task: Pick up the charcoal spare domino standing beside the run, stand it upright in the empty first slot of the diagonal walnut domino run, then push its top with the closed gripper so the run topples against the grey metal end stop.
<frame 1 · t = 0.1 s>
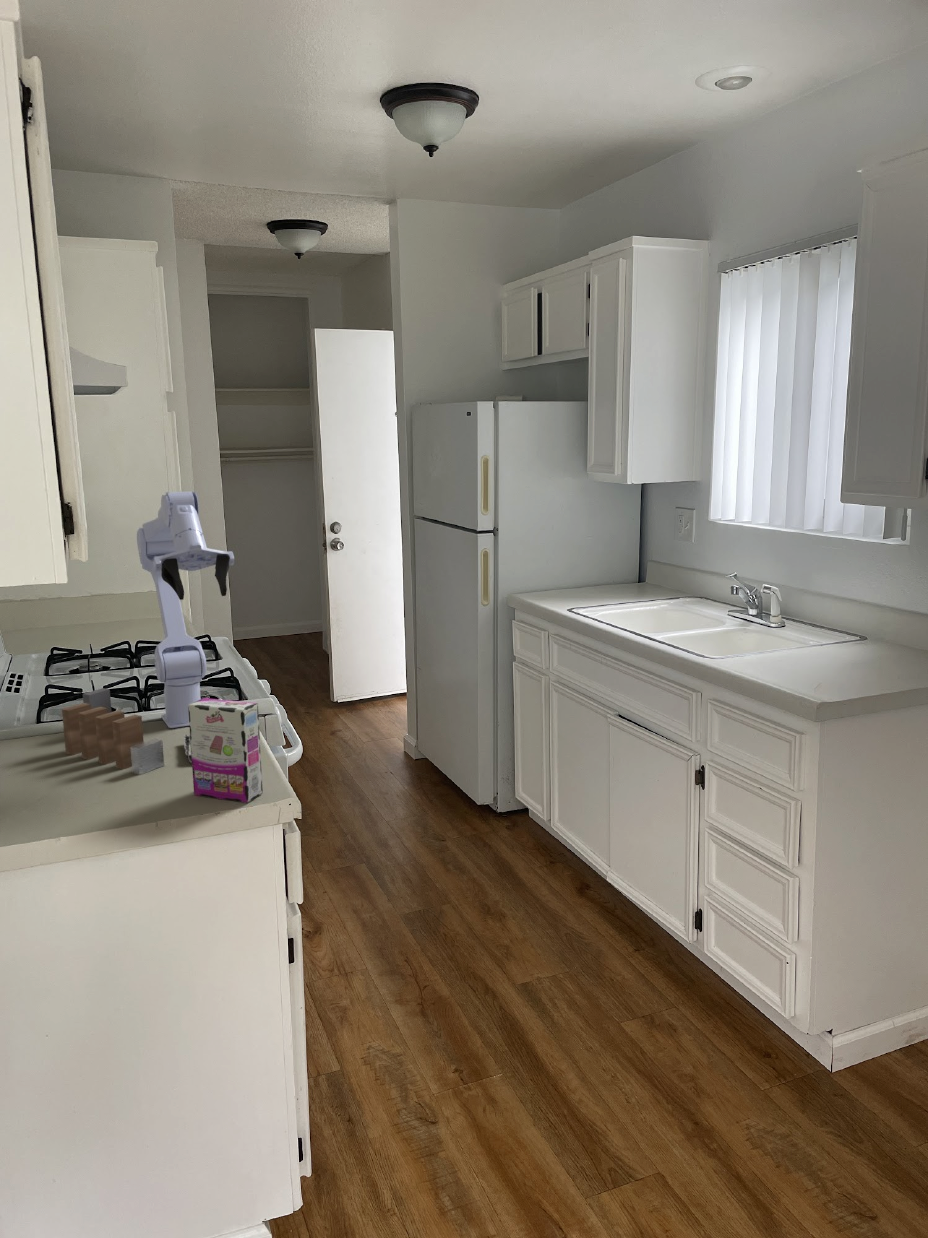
hand: (203, 594, 171), 32 cm above the counter, tool tilted 50°, fingers open, 7 cm apart
domino 2: (80, 750, 183), on the counter
domino 5: (130, 764, 175), on the counter
domino 3: (96, 755, 180), on the counter
candy bar box: (228, 795, 160), on the counter
end stop: (148, 769, 173), on the counter
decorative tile: (209, 755, 182), on the counter
domino 1: (99, 733, 194), on the counter
domino 4: (113, 759, 178), on the counter
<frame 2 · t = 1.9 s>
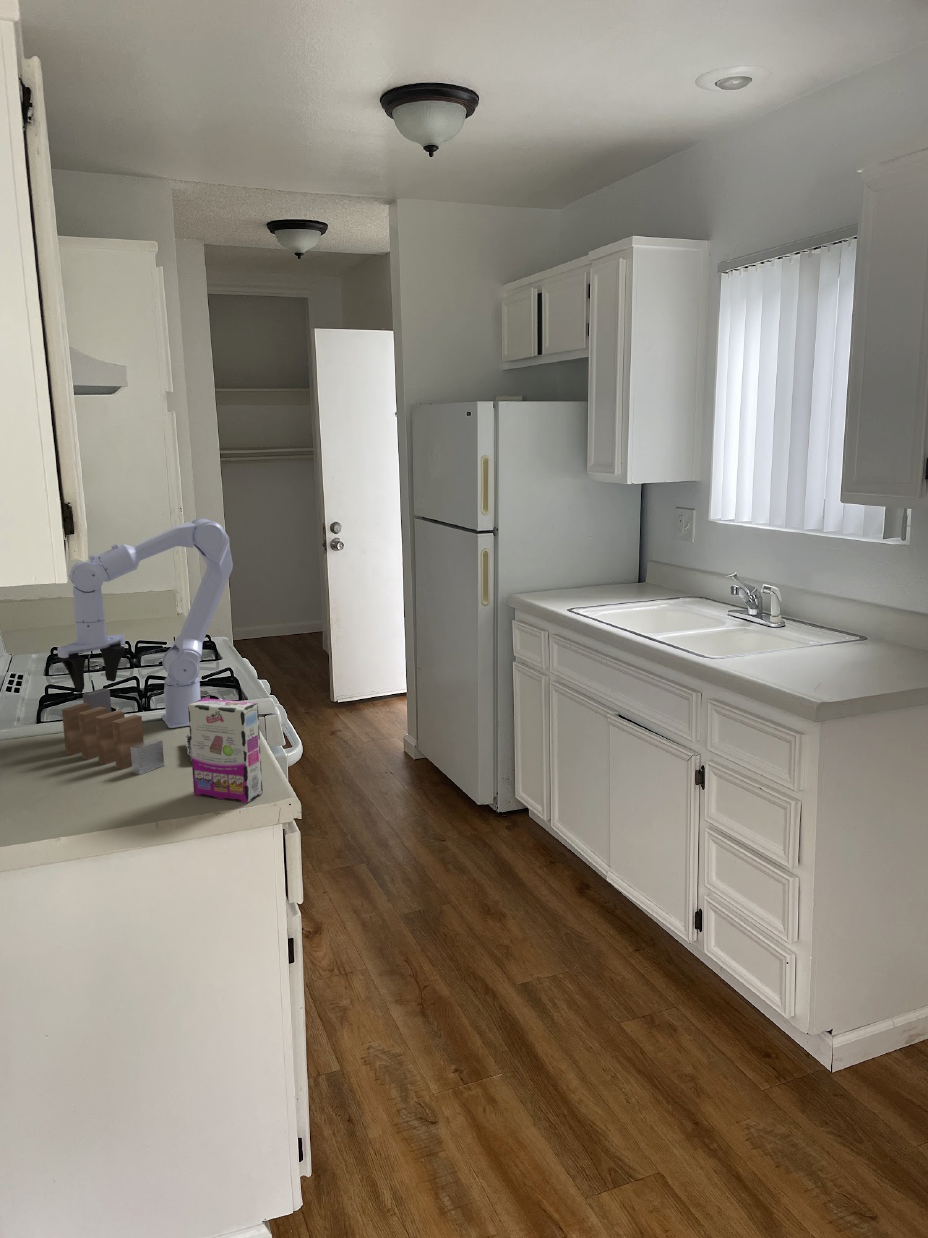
hand: (95, 684, 192), 10 cm above the counter, tool pointing down, fingers open, 7 cm apart
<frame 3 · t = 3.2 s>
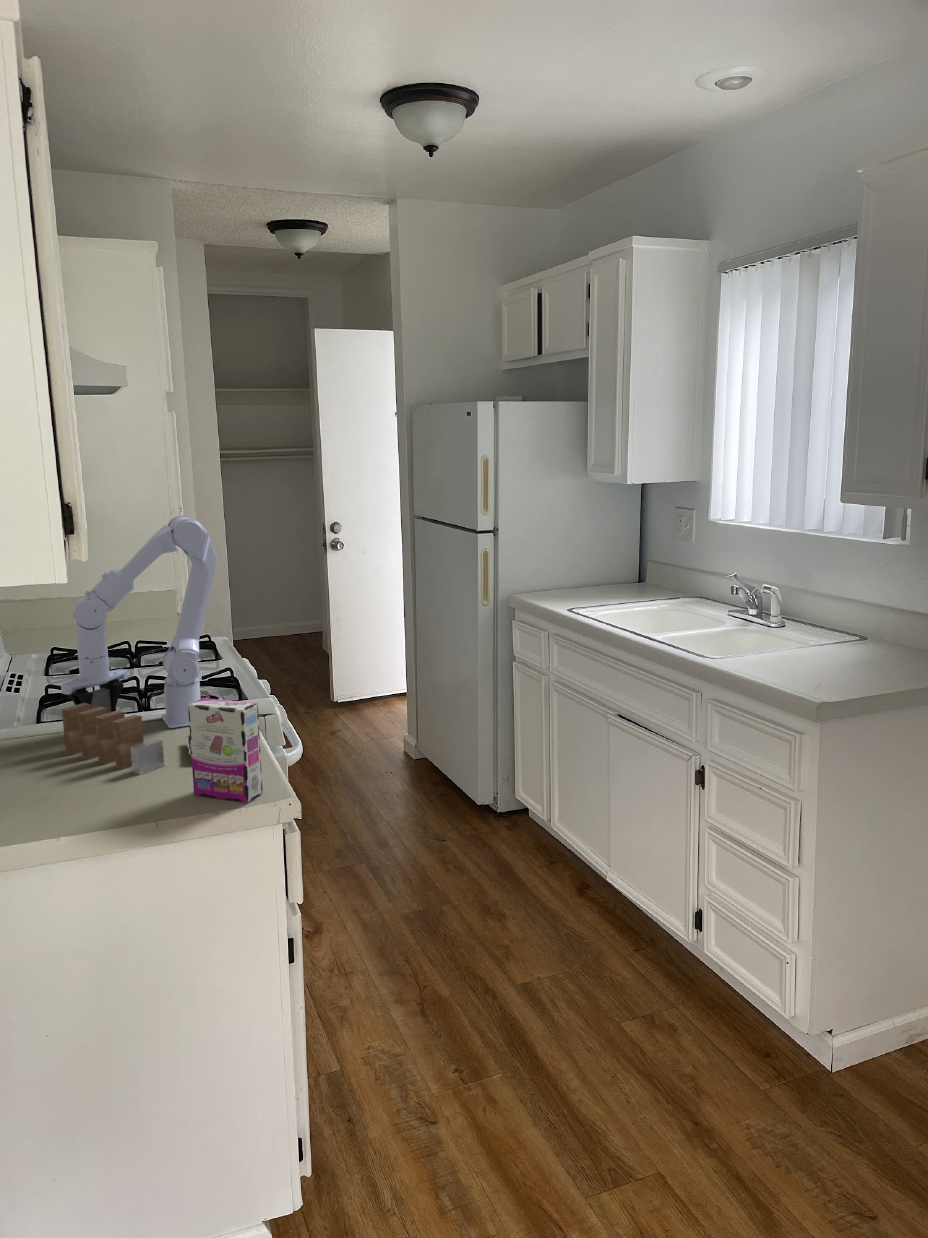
hand: (98, 719, 193), 3 cm above the counter, tool pointing down, fingers closed on domino 1, 5 cm apart
domino 1: (99, 733, 194), on the counter, touching gripper
everything else where it was.
when the fingers open (4 cm above the counter, at t = 7.2 s): domino 1 drops 1 cm, on the counter.
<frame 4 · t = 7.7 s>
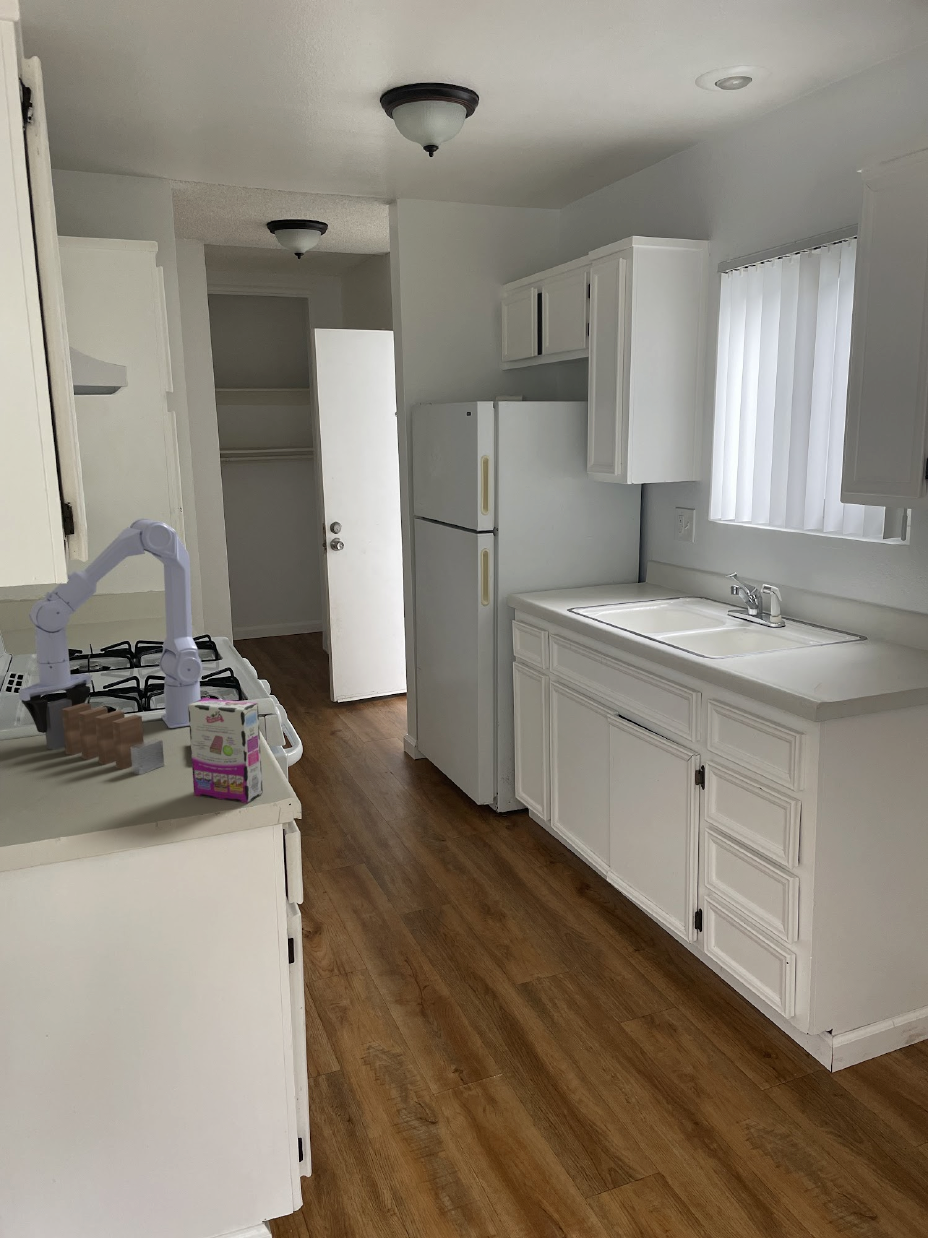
hand: (59, 726, 185), 4 cm above the counter, tool pointing down, fingers open, 7 cm apart
domino 1: (61, 745, 186), on the counter
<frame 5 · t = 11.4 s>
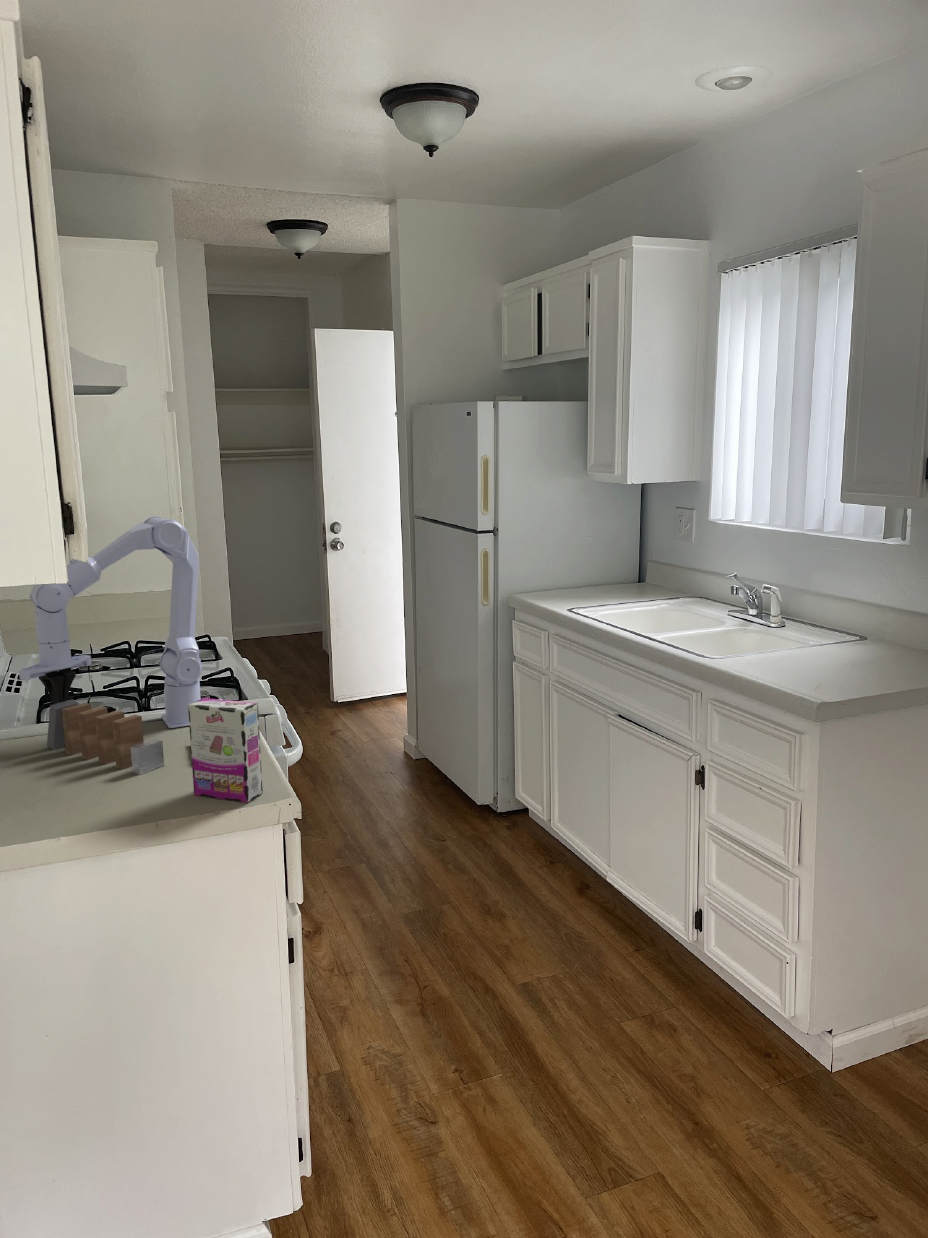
hand: (60, 707, 185), 8 cm above the counter, tool pointing down, fingers closed
domino 1: (61, 744, 186), on the counter, tilted 15°
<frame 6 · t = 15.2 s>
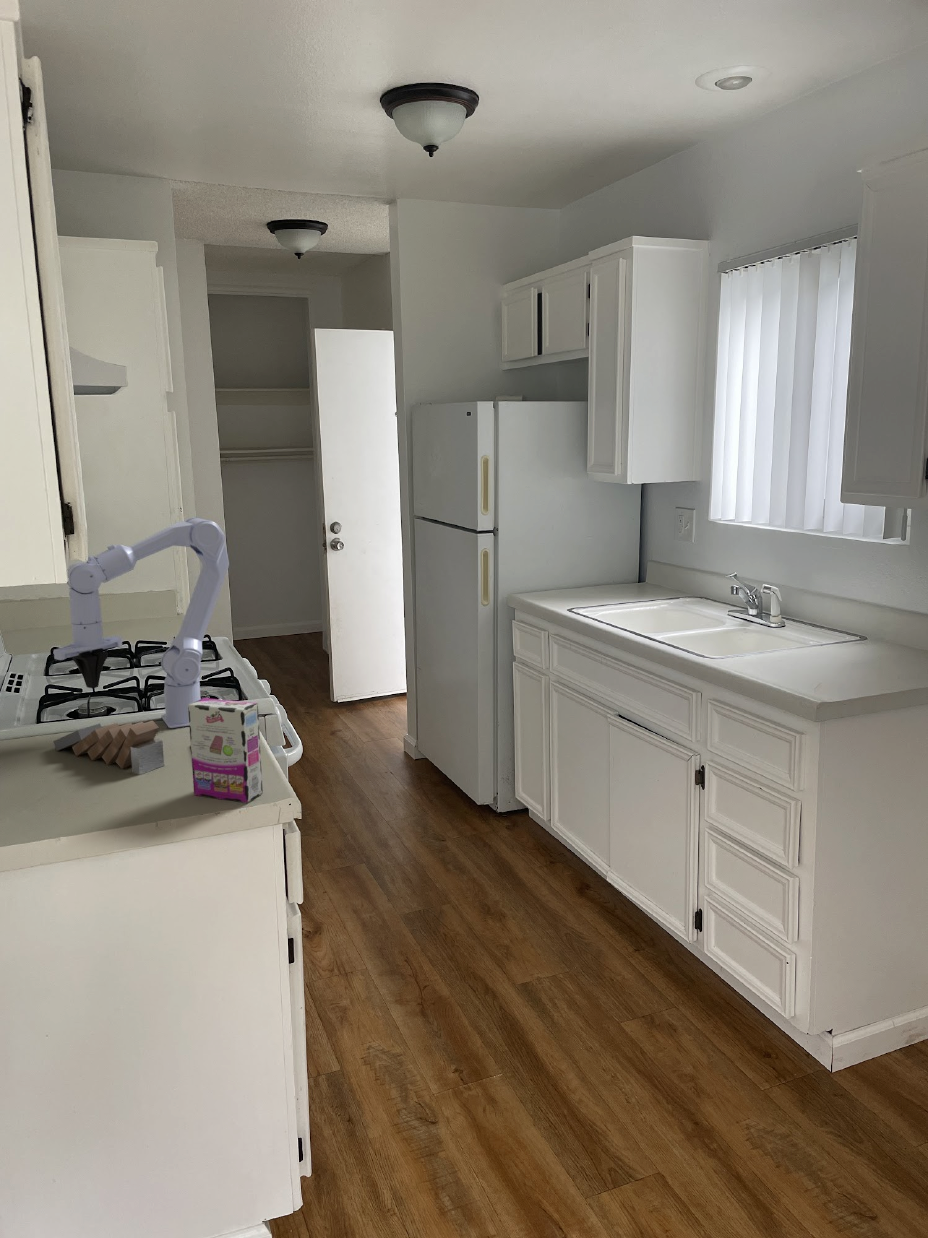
hand: (92, 687, 190), 10 cm above the counter, tool pointing down, fingers closed
domino 2: (85, 748, 182), point 1 cm above the counter, tilted 58°, touching domino 1, domino 3
domino 5: (129, 761, 175), point 1 cm above the counter, tilted 34°, touching domino 4, end stop
domino 3: (100, 752, 180), point 1 cm above the counter, tilted 51°, touching domino 2, domino 4
domino 1: (66, 742, 185), point 1 cm above the counter, tilted 66°, touching domino 2
domino 4: (115, 757, 177), point 1 cm above the counter, tilted 43°, touching domino 3, domino 5
at the end: domino 5 tilted 34°; domino 1 tilted 66°; domino 1 0.9 cm from the target spot, point 0.9 cm above the counter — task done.
